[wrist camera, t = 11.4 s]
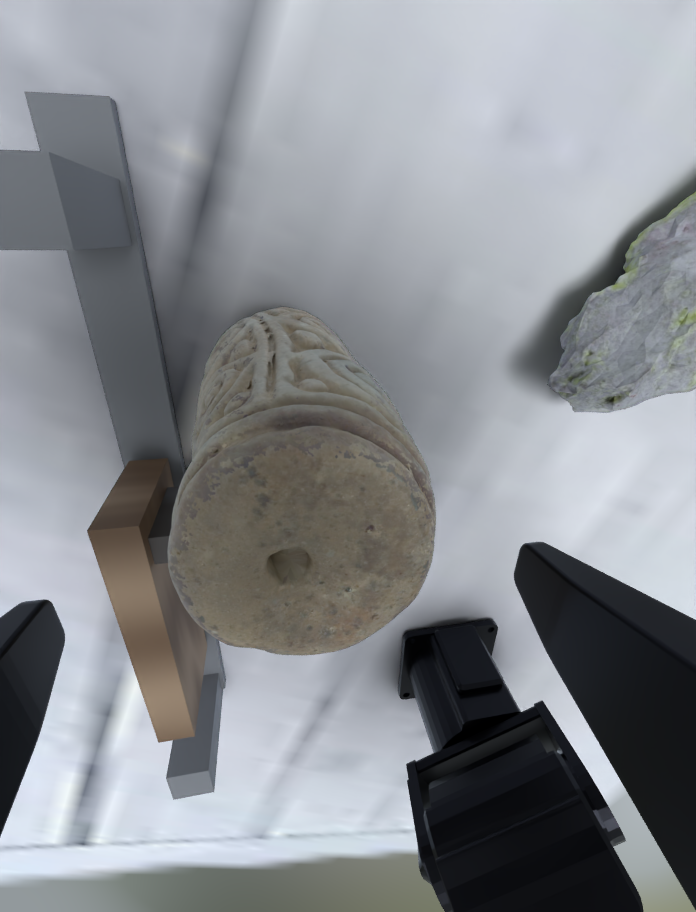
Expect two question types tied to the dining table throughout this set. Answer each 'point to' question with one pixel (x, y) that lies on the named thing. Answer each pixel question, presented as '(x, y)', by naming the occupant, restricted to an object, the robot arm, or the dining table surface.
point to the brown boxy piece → (150, 595)
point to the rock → (637, 324)
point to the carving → (297, 495)
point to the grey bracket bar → (109, 318)
